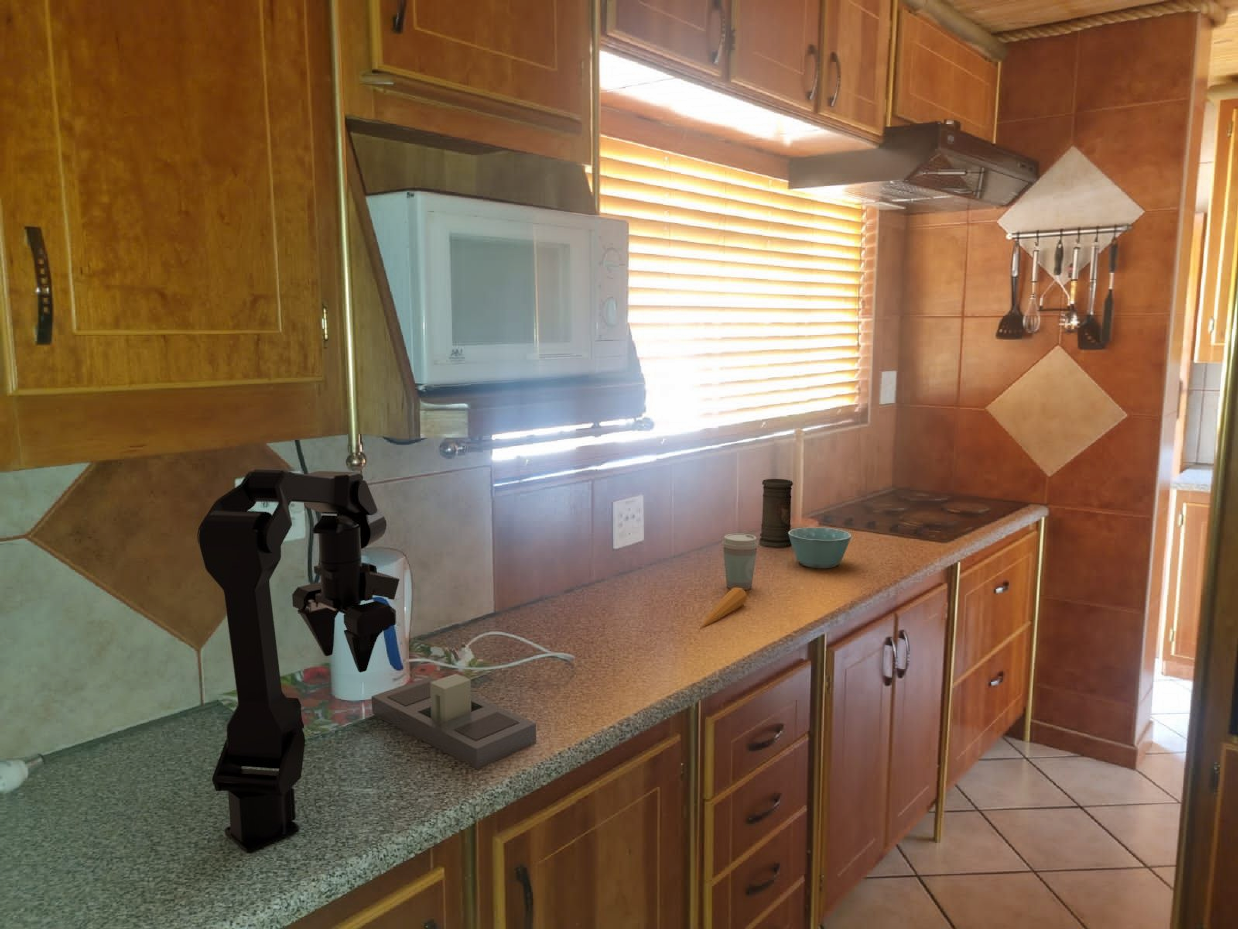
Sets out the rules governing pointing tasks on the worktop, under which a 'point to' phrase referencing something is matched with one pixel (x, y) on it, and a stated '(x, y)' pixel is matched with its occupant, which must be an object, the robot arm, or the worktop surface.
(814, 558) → the bowl
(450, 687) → the beige slotted block
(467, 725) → the grey slotted tray
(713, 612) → the carrot
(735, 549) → the coffee cup
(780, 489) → the container
